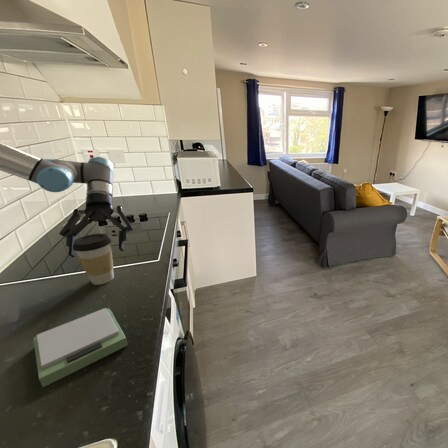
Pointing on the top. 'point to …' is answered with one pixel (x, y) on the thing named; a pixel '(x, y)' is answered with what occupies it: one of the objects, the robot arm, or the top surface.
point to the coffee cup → (95, 257)
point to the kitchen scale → (77, 345)
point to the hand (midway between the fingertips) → (97, 252)
